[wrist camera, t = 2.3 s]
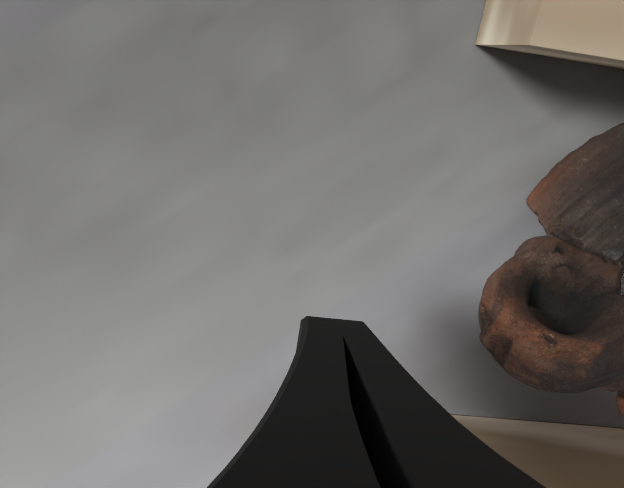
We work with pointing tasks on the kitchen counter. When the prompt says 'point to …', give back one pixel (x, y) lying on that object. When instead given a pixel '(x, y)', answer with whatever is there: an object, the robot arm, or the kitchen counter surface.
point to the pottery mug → (566, 279)
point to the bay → (590, 49)
